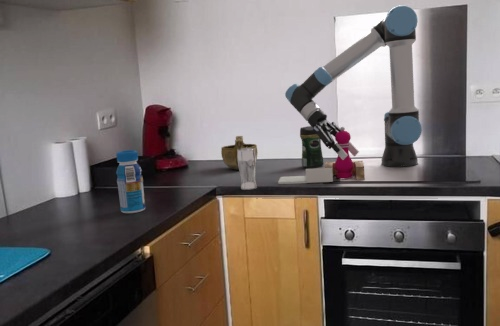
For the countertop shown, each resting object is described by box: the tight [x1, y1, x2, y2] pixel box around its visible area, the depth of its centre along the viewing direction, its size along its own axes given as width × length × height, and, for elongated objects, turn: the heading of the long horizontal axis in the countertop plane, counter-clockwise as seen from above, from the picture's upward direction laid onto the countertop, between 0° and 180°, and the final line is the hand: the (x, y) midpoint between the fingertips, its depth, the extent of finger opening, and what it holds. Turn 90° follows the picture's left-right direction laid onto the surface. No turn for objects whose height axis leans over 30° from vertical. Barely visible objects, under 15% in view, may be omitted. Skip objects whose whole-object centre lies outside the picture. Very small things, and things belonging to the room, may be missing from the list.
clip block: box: [324, 160, 366, 181], centre depth 196 cm, size 15×14×5 cm
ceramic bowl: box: [220, 135, 258, 171], centre depth 232 cm, size 22×17×15 cm
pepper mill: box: [334, 126, 353, 179], centre depth 194 cm, size 7×7×20 cm
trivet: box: [277, 175, 307, 185], centre depth 195 cm, size 11×11×1 cm
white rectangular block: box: [305, 167, 334, 184], centre depth 188 cm, size 10×2×5 cm, turn 80°
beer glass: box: [237, 148, 258, 191], centre depth 186 cm, size 7×7×15 cm
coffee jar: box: [299, 125, 325, 169], centre depth 224 cm, size 10×8×19 cm
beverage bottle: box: [115, 149, 146, 214], centre depth 163 cm, size 8×8×20 cm
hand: (351, 155), depth 192 cm, fingers open, 8 cm apart
